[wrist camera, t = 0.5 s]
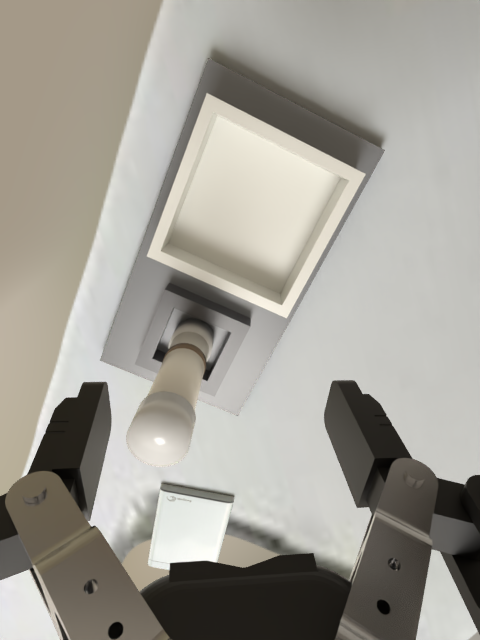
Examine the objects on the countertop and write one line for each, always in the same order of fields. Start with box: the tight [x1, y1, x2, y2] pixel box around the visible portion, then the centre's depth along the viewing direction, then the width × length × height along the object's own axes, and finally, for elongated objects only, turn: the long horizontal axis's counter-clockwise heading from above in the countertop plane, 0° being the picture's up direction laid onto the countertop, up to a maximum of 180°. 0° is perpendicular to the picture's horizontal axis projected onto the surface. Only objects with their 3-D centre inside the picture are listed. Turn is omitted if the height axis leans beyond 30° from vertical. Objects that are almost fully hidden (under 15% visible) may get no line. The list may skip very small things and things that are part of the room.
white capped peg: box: [126, 318, 214, 467], centre depth 29 cm, size 4×4×14 cm
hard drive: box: [148, 483, 234, 570], centre depth 46 cm, size 2×8×12 cm
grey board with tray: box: [100, 58, 385, 416], centre depth 32 cm, size 26×14×4 cm, turn 156°
